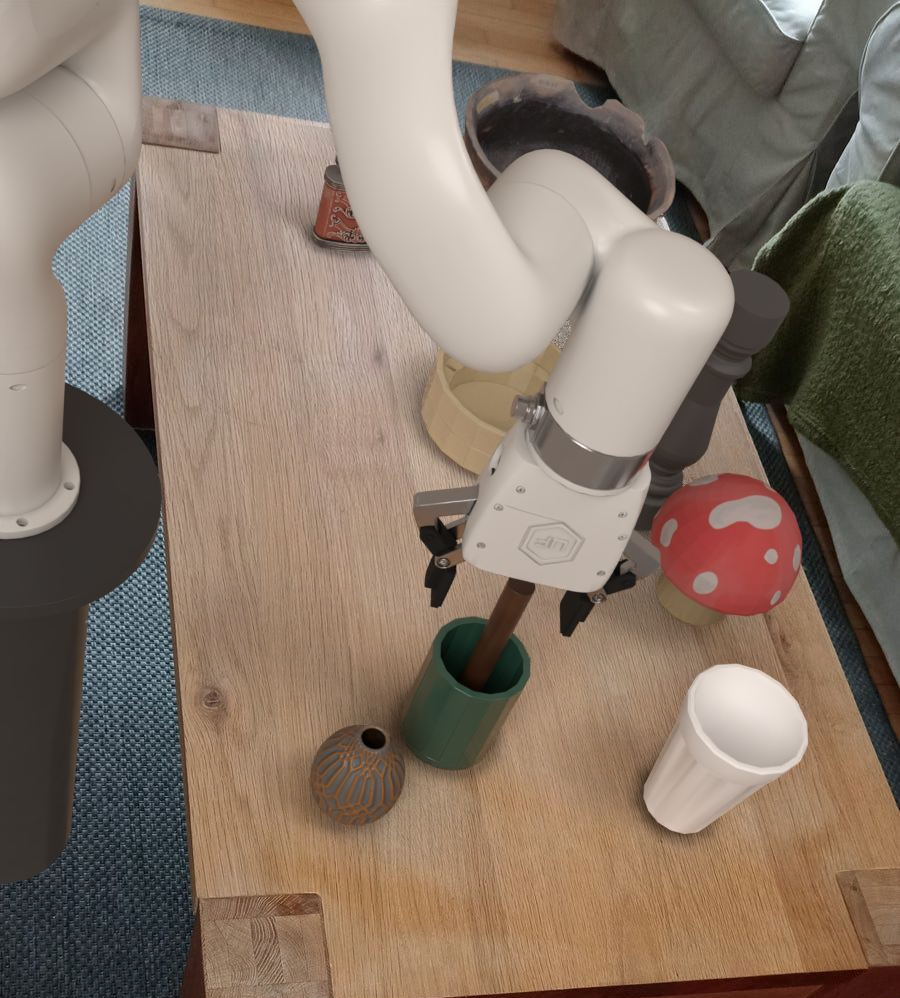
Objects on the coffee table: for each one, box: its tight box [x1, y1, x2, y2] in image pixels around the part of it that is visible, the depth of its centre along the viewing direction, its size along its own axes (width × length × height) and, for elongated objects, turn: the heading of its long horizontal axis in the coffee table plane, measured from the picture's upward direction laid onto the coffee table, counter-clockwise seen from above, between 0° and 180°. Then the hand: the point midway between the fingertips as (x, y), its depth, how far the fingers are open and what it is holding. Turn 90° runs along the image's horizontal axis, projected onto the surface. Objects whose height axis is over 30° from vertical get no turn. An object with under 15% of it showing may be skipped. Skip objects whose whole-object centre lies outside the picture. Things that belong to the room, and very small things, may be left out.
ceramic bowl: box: [462, 72, 676, 225], centre depth 133 cm, size 22×22×15 cm
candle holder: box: [634, 268, 791, 532], centre depth 115 cm, size 6×6×25 cm
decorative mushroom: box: [649, 472, 803, 627], centre depth 114 cm, size 13×13×15 cm
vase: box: [309, 723, 406, 827], centre depth 96 cm, size 7×7×9 cm
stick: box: [458, 577, 536, 692], centre depth 97 cm, size 2×2×18 cm
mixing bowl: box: [420, 341, 563, 476], centre depth 123 cm, size 15×15×6 cm
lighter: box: [310, 154, 372, 253], centre depth 129 cm, size 8×3×10 cm, turn 108°
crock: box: [399, 615, 532, 771], centre depth 101 cm, size 8×8×10 cm
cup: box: [642, 663, 809, 835], centre depth 103 cm, size 10×10×13 cm
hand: (500, 606), depth 93 cm, fingers open, 9 cm apart
